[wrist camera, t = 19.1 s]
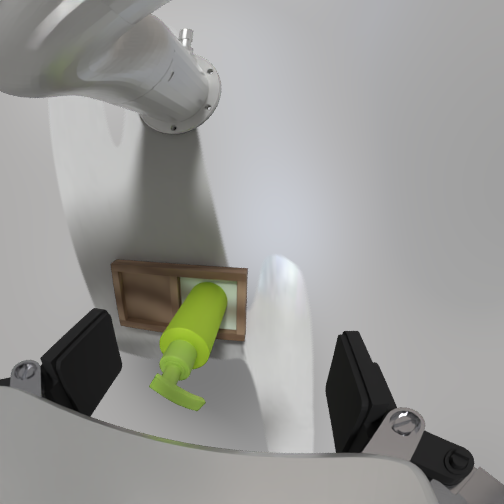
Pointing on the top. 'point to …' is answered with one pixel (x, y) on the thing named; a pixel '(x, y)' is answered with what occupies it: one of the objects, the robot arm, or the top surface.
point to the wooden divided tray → (175, 294)
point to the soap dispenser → (189, 342)
